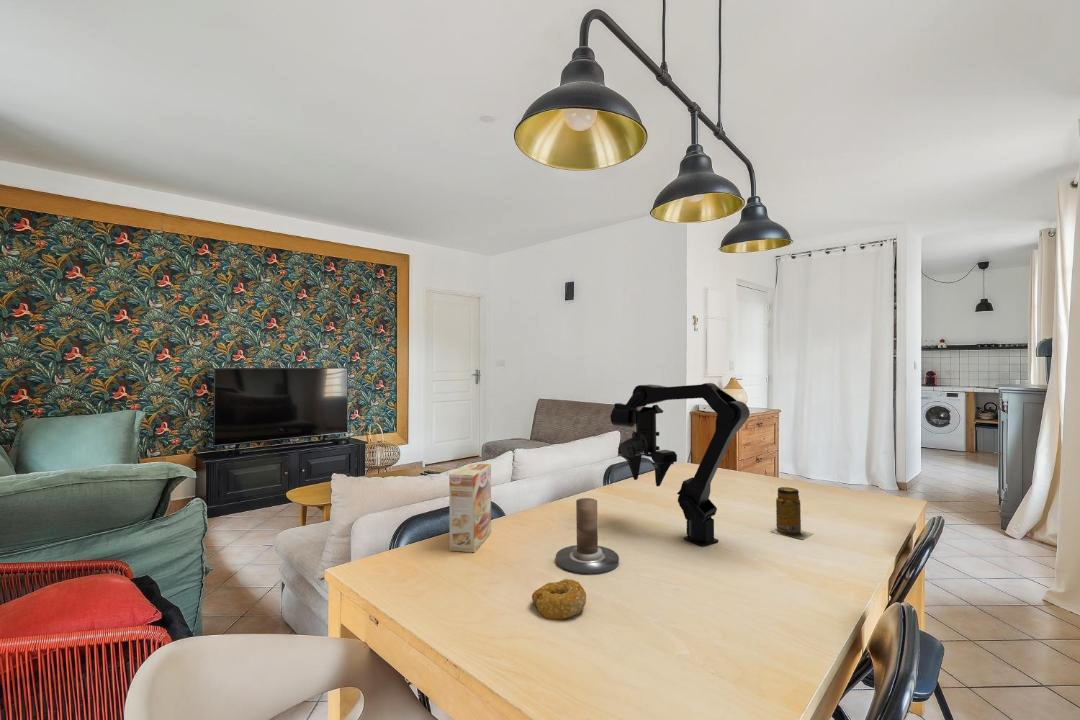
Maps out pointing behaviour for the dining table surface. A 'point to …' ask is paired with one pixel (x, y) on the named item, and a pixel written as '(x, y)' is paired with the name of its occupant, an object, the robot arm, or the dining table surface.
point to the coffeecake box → (470, 507)
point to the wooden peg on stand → (587, 531)
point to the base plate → (587, 562)
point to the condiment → (789, 514)
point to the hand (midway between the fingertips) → (646, 482)
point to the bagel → (560, 599)
